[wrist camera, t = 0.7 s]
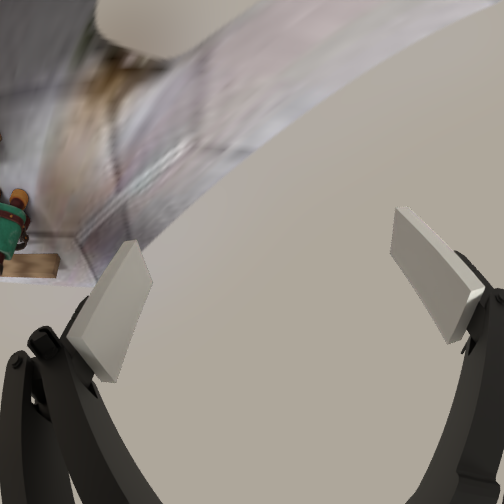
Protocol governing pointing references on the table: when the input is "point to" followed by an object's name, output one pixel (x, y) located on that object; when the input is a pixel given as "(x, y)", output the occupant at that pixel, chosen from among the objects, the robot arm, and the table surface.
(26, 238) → the binoculars
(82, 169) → the table surface
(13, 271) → the channel
